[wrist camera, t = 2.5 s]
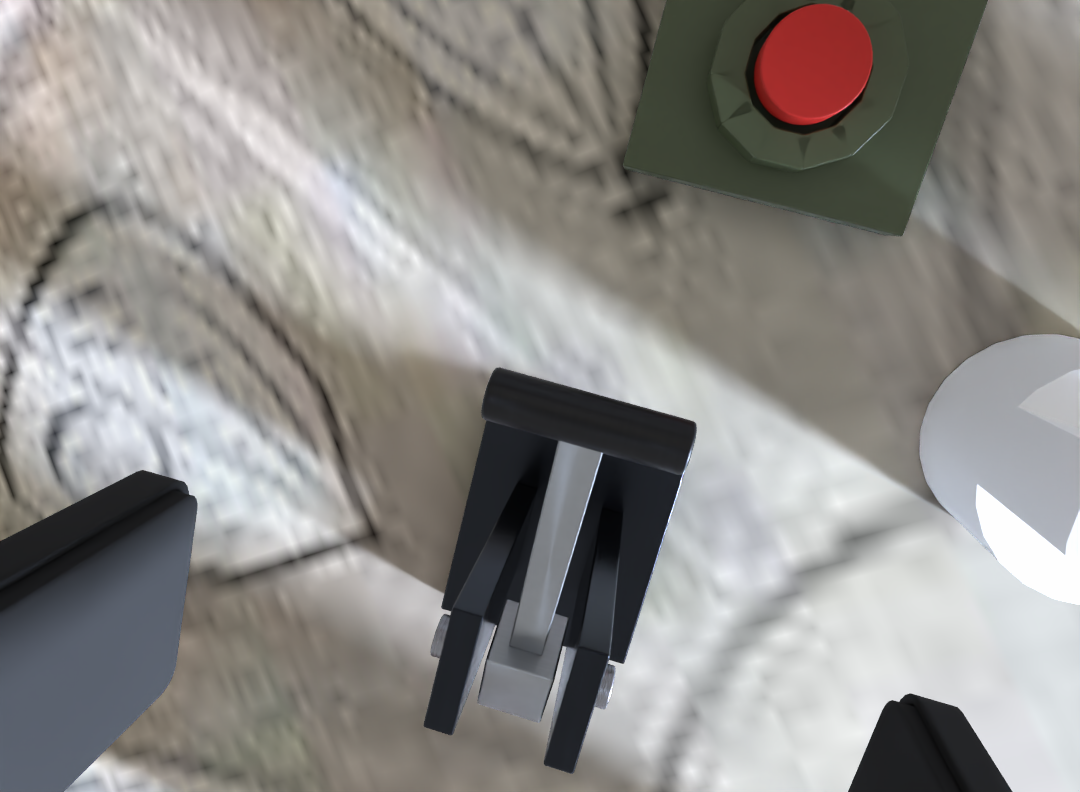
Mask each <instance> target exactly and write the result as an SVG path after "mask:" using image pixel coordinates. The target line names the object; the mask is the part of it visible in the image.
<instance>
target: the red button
mask: <svg viewBox="0 0 1080 792" xmlns="http://www.w3.org/2000/svg"><path fill="white" fill-rule="evenodd" d="M872 61H873V51H872V44H871V40H870V37H869V35H868V32H867V30H866V29H865V27H864V25H863V24H862V23H861V21H860V20H859V19H858V18H857V17H856V16H855V15H854V14H852V13H851V12H849V11H848V10H846V9H843V8H841V7H838V6H835V5H830V4H814V5H809V6H805V7H802V8H800V9H797V10H795V11H794V12H792V13H790V14H789V15H787V16H786V17H785V18H783V19H782V20H781V21H780V22H779V23H778V24H777V25H776V26H775V28H774V29H773V30H772V32H771V33H770V35H769V36H768V38H767V39H766V41H765V42H764V44H763V46H762V47H761V49H760V51H759V54H758V56H757V59H756V63H755V68H754V84H755V89H756V93H757V95H758V98H759V100H760V102H761V103H762V105H763V106H764V108H765V109H766V110H767V111H768V112H769V113H770V114H771V115H772V116H774V117H775V118H777V119H778V120H781V121H783V122H785V123H788V124H793V125H811V124H816V123H819V122H822V121H824V120H826V119H828V118H830V117H832V116H834V115H835V114H837V113H839V112H840V111H842V110H843V109H845V108H846V107H848V106H849V105H850V104H851V103H852V102H853V101H854V100H855V99H856V98H857V97H858V96H859V94H860V93H861V92H862V90H863V88H864V87H865V85H866V83H867V81H868V78H869V76H870V72H871V68H872Z"/></svg>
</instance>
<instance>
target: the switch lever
mask: <svg viewBox="0 0 1080 792" xmlns="http://www.w3.org/2000/svg"><path fill="white" fill-rule="evenodd" d="M481 413H482V418H483V419H484V420H487V421H491V422H494V423H498V424H501V425H505V426H508V427H512V428H515V429H519V430H522V431H526V432H529V433H533V434H536V435H540V436H543V437H547V438H550V439H554V440H557V441H558V445H557V449H556V453H555V457H554V462H553V466H552V470H551V474H550V478H549V482H548V486H547V490H546V495H545V499H544V503H543V507H542V511H541V515H540V519H539V523H538V528H537V532H536V536H535V540H534V544H533V548H532V552H531V556H530V560H529V565H528V569H527V573H526V577H525V581H524V585H523V589H522V593H521V598H520V602H519V603H518V602H515V601H512V600H508V599H507V600H506V601H505V603H504V607H503V610H502V613H501V616H500V619H499V622H498V625H497V628H496V631H495V634H494V637H493V640H492V643H491V646H490V649H489V652H488V655H487V658H486V662H485V667H484V672H483V677H482V681H481V686H480V691H479V695H478V700H477V703H478V704H480V705H483V706H486V707H490V708H493V709H496V710H499V711H502V712H506V713H509V714H512V715H515V716H518V717H521V718H525V719H528V720H531V721H534V722H537V723H539V722H540V721H541V718H542V715H543V712H544V709H545V706H546V703H547V700H548V697H549V694H550V691H551V688H552V685H553V682H554V679H555V675H556V671H557V666H558V662H559V658H560V654H561V650H562V646H563V642H564V638H565V634H566V630H567V626H568V622H569V619H568V618H567V617H565V616H561V615H558V614H555V611H556V608H557V605H558V601H559V598H560V594H561V591H562V588H563V584H564V581H565V578H566V574H567V571H568V568H569V564H570V561H571V558H572V554H573V551H574V548H575V544H576V541H577V538H578V534H579V531H580V528H581V524H582V521H583V518H584V514H585V511H586V508H587V504H588V501H589V498H590V494H591V491H592V488H593V484H594V481H595V478H596V474H597V471H598V468H599V464H600V461H601V458H602V454H607V455H610V456H614V457H617V458H621V459H624V460H628V461H631V462H635V463H638V464H642V465H645V466H649V467H653V468H656V469H660V470H663V471H667V472H670V473H674V474H677V475H681V474H683V472H684V471H685V469H686V467H687V465H688V463H689V460H690V457H691V454H692V450H693V446H694V442H695V438H696V431H697V427H696V423H695V422H693V421H690V420H687V419H683V418H680V417H676V416H672V415H669V414H665V413H662V412H658V411H654V410H651V409H647V408H644V407H640V406H636V405H633V404H629V403H626V402H622V401H618V400H615V399H611V398H608V397H604V396H600V395H597V394H593V393H590V392H586V391H582V390H579V389H575V388H572V387H568V386H565V385H561V384H557V383H554V382H550V381H547V380H543V379H539V378H536V377H532V376H529V375H525V374H521V373H518V372H514V371H511V370H507V369H503V368H500V367H499V368H495V370H494V371H493V373H492V374H491V377H490V379H489V382H488V385H487V388H486V391H485V395H484V399H483V403H482V410H481Z"/></svg>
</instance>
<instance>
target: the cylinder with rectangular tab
mask: <svg viewBox="0 0 1080 792" xmlns="http://www.w3.org/2000/svg"><path fill="white" fill-rule="evenodd" d="M919 457H920V461H921V464H922V468H923V472H924V476H925V480H926V482H927V484H928V485H929V487H930V489H931V490H932V492H933V494H934V495H935V497H936V498H937V500H938V502H939V503H940V504H941V505H942V506H943V507H944V508H945V509H946V510H947V511H948V512H949V513H950V514H951V515H952V516H953V517H954V518H955V519H956V520H957V521H958V522H959V523H960V524H961V525H962V526H963V527H964V528H965V529H966V530H967V531H968V532H969V533H970V534H971V535H972V536H973V537H974V538H975V539H976V540H977V541H978V542H979V543H981V544H982V545H983V546H984V547H985V548H986V549H987V550H988V551H989V552H990V553H991V554H992V555H993V556H994V557H995V558H996V559H997V560H998V561H999V562H1000V563H1001V564H1002V565H1003V566H1004V567H1005V568H1007V569H1008V570H1009V571H1010V572H1011V573H1012V574H1013V575H1014V576H1015V577H1016V578H1018V579H1019V580H1020V581H1021V582H1022V583H1023V584H1025V585H1027V586H1029V587H1031V588H1033V589H1035V590H1037V591H1039V592H1041V593H1043V594H1045V595H1046V596H1048V597H1050V598H1052V599H1056V600H1061V601H1065V602H1069V603H1073V604H1078V605H1080V339H1079V338H1074V337H1069V336H1064V335H1059V334H1041V335H1024V336H1020V337H1017V338H1013V339H1010V340H1006V341H1003V342H999V343H996V344H993V345H991V346H990V347H988V348H986V349H984V350H982V351H981V352H979V353H977V354H975V355H973V356H972V357H970V358H968V359H966V360H965V361H964V362H963V363H962V364H961V365H960V366H959V367H958V368H957V369H956V370H954V371H953V372H952V373H951V374H950V375H949V376H948V377H947V378H946V379H945V380H944V381H943V383H942V384H941V386H940V387H939V389H938V390H937V392H936V393H935V395H934V397H933V398H932V400H931V401H930V403H929V405H928V408H927V411H926V414H925V417H924V420H923V423H922V426H921V429H920V450H919Z"/></svg>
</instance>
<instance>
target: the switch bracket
mask: <svg viewBox="0 0 1080 792" xmlns="http://www.w3.org/2000/svg"><path fill="white" fill-rule="evenodd" d="M557 445H558V441H557V440H554V439H550V438H547V437H543V436H540V435H536V434H533V433H529V432H526V431H522V430H519V429H515V428H512V427H508V426H505V425H501V424H498V423H494V422H491V421H487V420H486V425H485V429H484V433H483V437H482V441H481V445H480V449H479V453H478V458H477V462H476V466H475V470H474V474H473V478H472V482H471V487H470V491H469V495H468V499H467V503H466V507H465V511H464V515H463V520H462V524H461V528H460V532H459V536H458V540H457V544H456V548H455V553H454V557H453V561H452V565H451V569H450V573H449V577H448V582H447V586H446V590H445V594H444V598H443V602H442V606H441V607H442V609H445V610H448V611H451V615H447V614H444V615H443V616H442V617H441V619H440V622H439V624H438V627H437V629H436V632H435V635H434V639H433V642H432V646H431V656H434V657H437V658H440V660H439V664H438V668H437V672H436V676H435V680H434V684H433V688H432V692H431V696H430V700H429V704H428V708H427V712H426V716H425V721H424V727H426V728H429V729H432V730H435V731H438V732H442V733H445V734H448V735H453V733H454V731H455V728H456V725H457V723H458V720H459V718H460V715H461V713H462V710H463V707H464V705H465V702H466V700H467V697H468V694H469V692H470V689H471V687H472V684H473V681H474V679H475V676H476V674H477V671H478V669H479V666H480V663H481V661H482V658H483V656H484V653H485V650H486V648H487V645H488V643H489V640H490V638H491V635H492V632H493V630H494V627H495V625H498V622H499V619H500V616H501V613H502V610H503V607H504V603H505V601H506V600H507V599H508V600H512V601H515V602H518V603H519V602H520V598H521V593H522V589H523V585H524V581H525V577H526V573H527V569H528V565H529V560H530V556H531V552H532V548H533V544H534V540H535V536H536V532H537V528H538V523H539V519H540V515H541V511H542V507H543V503H544V499H545V495H546V490H547V486H548V482H549V478H550V474H551V470H552V466H553V462H554V457H555V453H556V449H557ZM684 472H685V471H684ZM684 472H683V474H681V475H677V474H674V473H670V472H667V471H663V470H660V469H656V468H653V467H649V466H645V465H642V464H638V463H635V462H631V461H628V460H624V459H621V458H617V457H614V456H610V455H607V454H602V458H601V461H600V464H599V468H598V471H597V474H596V478H595V481H594V484H593V488H592V491H591V494H590V498H589V501H588V504H587V508H586V511H585V514H584V518H583V521H582V524H581V528H580V531H579V534H578V538H577V541H576V544H575V548H574V551H573V554H572V558H571V561H570V564H569V568H568V571H567V574H566V578H565V581H564V584H563V588H562V591H561V594H560V598H559V601H558V605H557V608H556V611H555V614H558V615H561V616H565V617H567V618H568V619H569V622H568V626H567V630H566V634H565V638H564V642H563V646H566V647H567V648H566V653H565V658H564V663H563V668H562V673H561V678H560V683H559V688H558V693H557V698H556V703H555V708H554V713H553V718H552V723H551V728H550V733H549V738H548V743H547V748H546V753H545V758H544V765H545V766H548V767H552V768H555V769H558V770H561V771H564V772H567V773H570V774H573V773H574V771H575V768H576V764H577V761H578V758H579V755H580V751H581V748H582V745H583V742H584V739H585V735H586V732H587V729H588V726H589V722H590V719H591V716H592V713H593V710H594V707H598V708H601V709H605V708H606V706H607V704H608V701H609V698H610V695H611V691H612V687H613V683H614V678H615V666H613V665H610V664H608V661H609V660H612V661H615V662H619V663H622V664H624V662H625V659H626V656H627V653H628V649H629V646H630V643H631V640H632V637H633V634H634V630H635V627H636V624H637V621H638V618H639V615H640V611H641V608H642V605H643V602H644V599H645V596H646V592H647V589H648V586H649V583H650V580H651V577H652V574H653V570H654V567H655V564H656V561H657V558H658V555H659V551H660V548H661V545H662V542H663V539H664V536H665V532H666V529H667V526H668V523H669V520H670V517H671V513H672V510H673V507H674V504H675V501H676V498H677V495H678V491H679V488H680V485H681V482H682V479H683V476H684Z"/></svg>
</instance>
